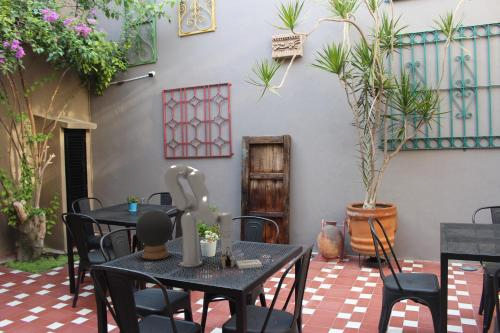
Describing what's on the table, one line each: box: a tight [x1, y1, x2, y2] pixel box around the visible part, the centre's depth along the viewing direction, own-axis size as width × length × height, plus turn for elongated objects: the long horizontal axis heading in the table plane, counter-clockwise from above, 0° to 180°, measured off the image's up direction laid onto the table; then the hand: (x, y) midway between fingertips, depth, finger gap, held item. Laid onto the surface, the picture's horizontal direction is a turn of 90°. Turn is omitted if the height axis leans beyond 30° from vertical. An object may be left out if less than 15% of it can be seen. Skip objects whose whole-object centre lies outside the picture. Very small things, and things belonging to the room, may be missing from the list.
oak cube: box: [220, 253, 234, 268], centre depth 257 cm, size 6×6×6 cm
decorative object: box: [135, 209, 174, 261], centre depth 282 cm, size 23×23×30 cm
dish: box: [235, 259, 263, 270], centre depth 255 cm, size 10×13×2 cm
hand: (227, 264), depth 257 cm, fingers closed on oak cube, 6 cm apart
